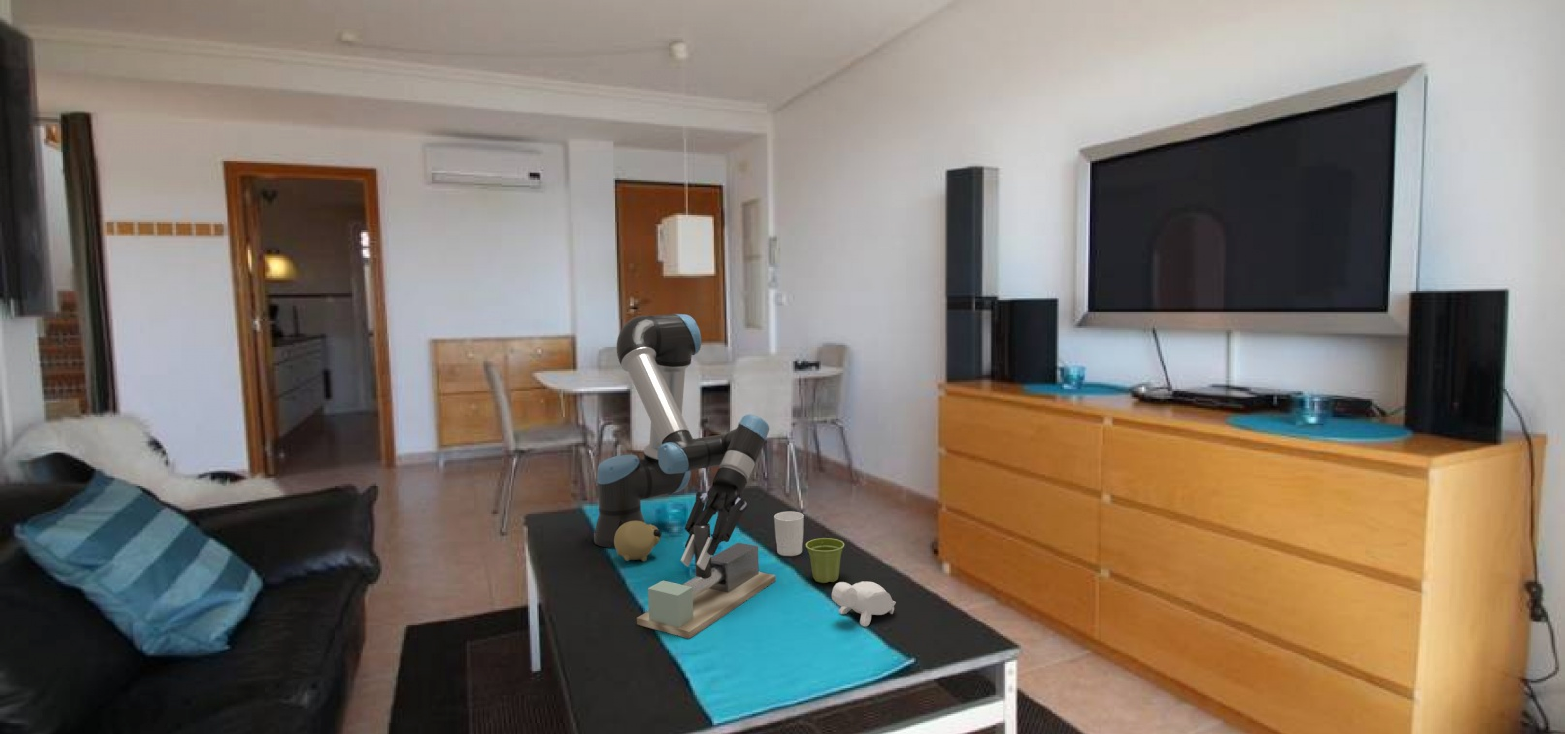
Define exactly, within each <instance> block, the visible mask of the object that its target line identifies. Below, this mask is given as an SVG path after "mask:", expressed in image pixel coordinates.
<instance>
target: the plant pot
mask: <svg viewBox="0 0 1565 734" xmlns="http://www.w3.org/2000/svg"><path fill="white" fill-rule="evenodd" d="M805 548H806V549H807V553H808V554H809V559H810V560H809V561H810V565H811V566H810V567H811V572H812V578H813V579H814V581H815V582H818V583H821V584H825V583H826V584H827V583H829V582H831V583H835V582H836V581H838V579H839V575H840V566H841V556H842V553H843V548H845V543H844V541H842V540H839V539H836V538H831V537H830V538H827V537H822V538H814V539H811V540H809V541H807V542H806V543H805Z"/></svg>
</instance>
